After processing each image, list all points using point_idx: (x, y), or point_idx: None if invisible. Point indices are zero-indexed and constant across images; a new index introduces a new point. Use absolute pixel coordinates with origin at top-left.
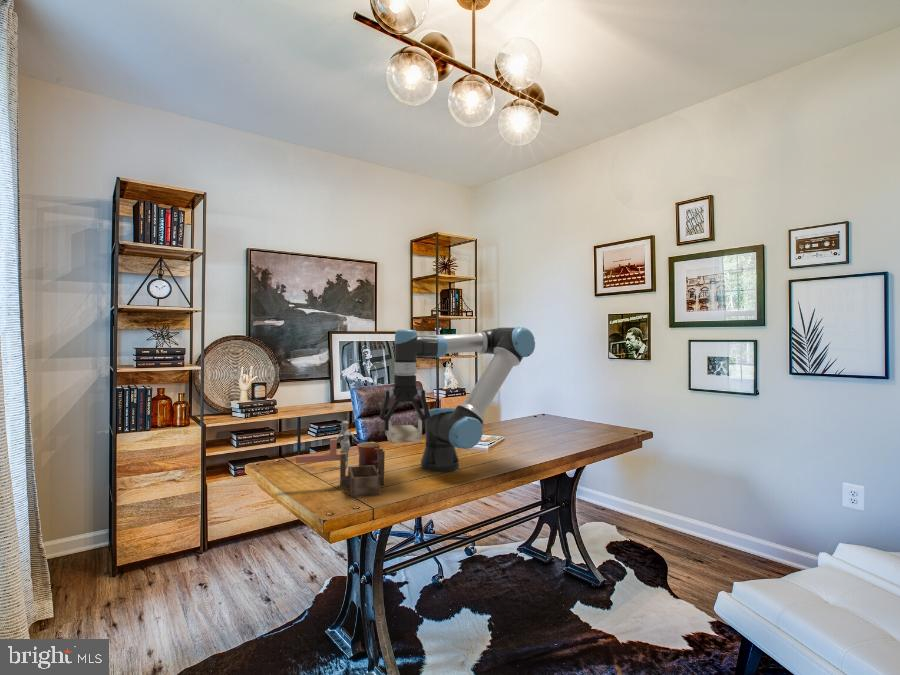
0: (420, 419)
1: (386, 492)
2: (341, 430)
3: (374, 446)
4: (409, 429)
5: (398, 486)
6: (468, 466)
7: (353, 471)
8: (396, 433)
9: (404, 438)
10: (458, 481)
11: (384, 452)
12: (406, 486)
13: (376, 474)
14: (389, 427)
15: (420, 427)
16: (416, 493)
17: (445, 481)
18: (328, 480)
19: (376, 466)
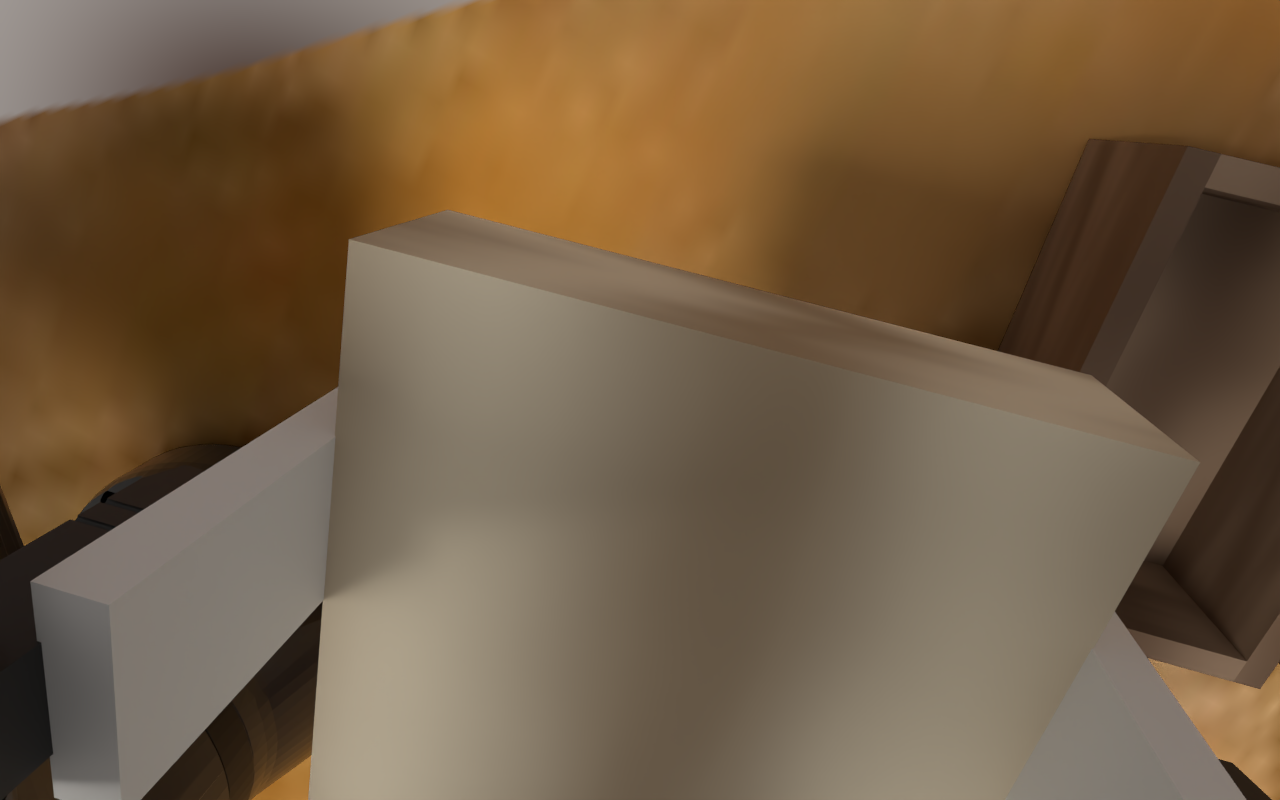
0: (56, 733)
1: (988, 187)
2: None
3: None
4: (495, 709)
5: (795, 297)
6: (38, 483)
7: (1189, 622)
8: (1037, 474)
9: (819, 330)
10: (237, 153)
11: None
12: (729, 259)
13: (1155, 276)
14: (1207, 776)
15: (257, 474)
16: (743, 4)
17: (346, 214)
18: (1245, 745)
19: None
